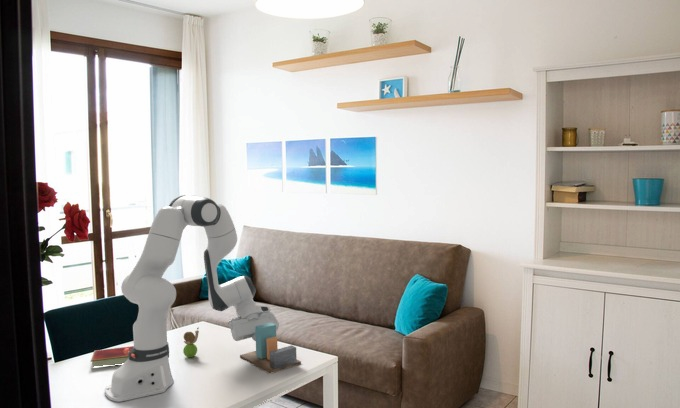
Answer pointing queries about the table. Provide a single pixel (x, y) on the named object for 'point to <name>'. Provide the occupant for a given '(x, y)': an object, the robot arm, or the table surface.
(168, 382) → the robot arm
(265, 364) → the brown wooden base board
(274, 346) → the orange flat block
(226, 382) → the table surface
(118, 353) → the hardcover book
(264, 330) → the teal upright block
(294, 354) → the grey lying block
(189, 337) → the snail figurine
